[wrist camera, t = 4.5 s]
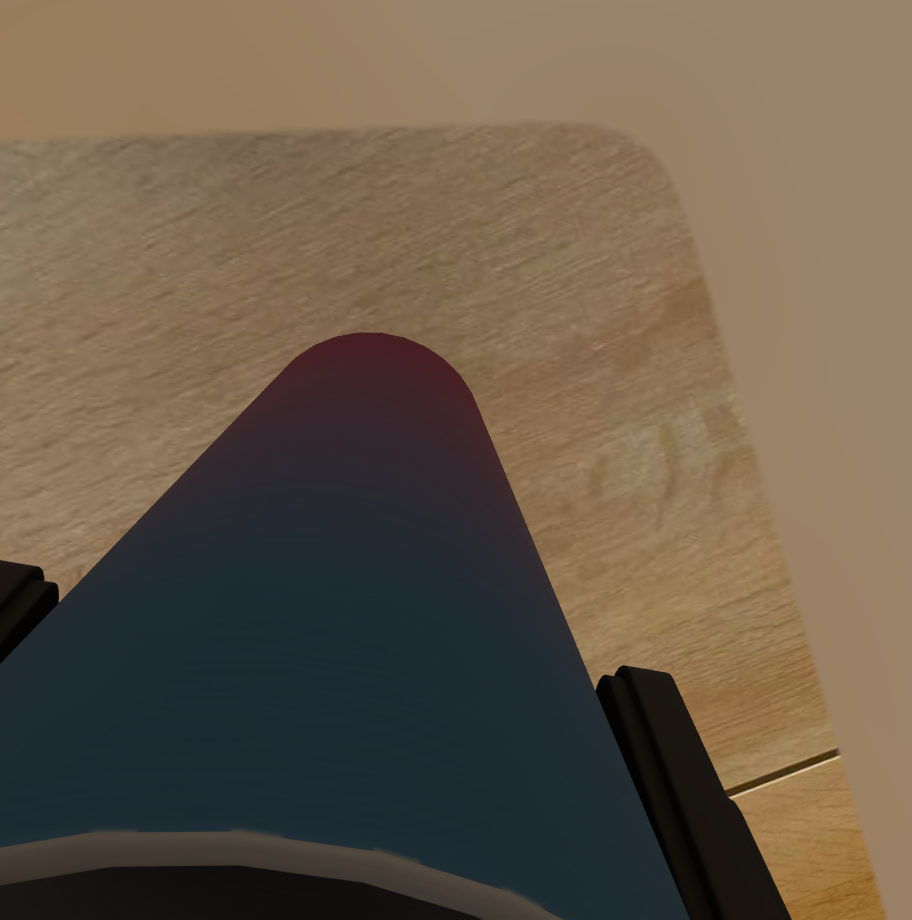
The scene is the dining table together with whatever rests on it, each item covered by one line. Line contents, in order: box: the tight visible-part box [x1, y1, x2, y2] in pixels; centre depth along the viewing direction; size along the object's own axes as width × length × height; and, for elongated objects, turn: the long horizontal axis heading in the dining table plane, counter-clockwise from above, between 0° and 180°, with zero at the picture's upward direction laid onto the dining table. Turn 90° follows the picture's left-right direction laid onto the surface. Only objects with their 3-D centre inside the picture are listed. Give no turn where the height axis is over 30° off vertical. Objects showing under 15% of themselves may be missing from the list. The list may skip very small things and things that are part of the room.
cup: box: [0, 333, 690, 920], centre depth 12 cm, size 7×7×15 cm
